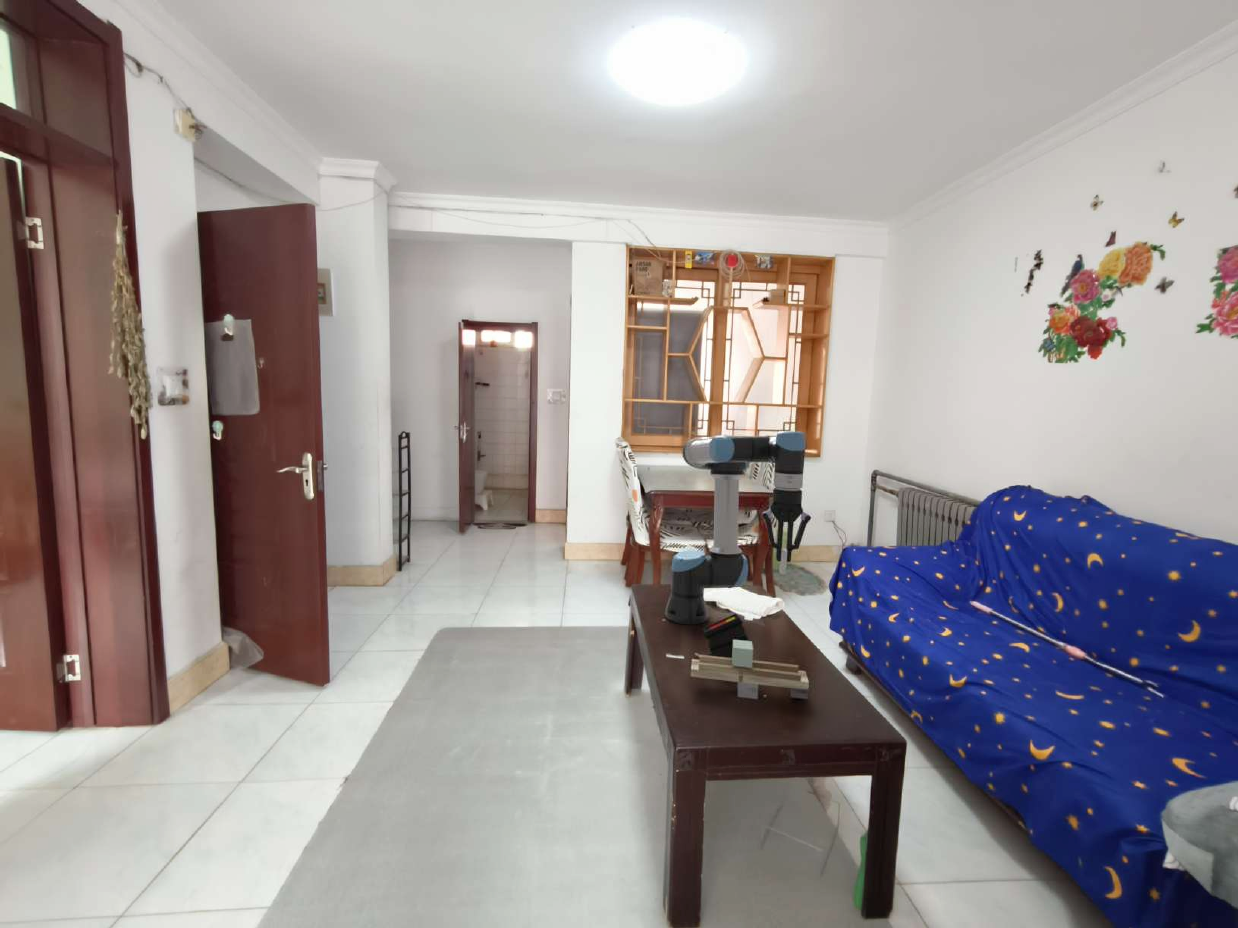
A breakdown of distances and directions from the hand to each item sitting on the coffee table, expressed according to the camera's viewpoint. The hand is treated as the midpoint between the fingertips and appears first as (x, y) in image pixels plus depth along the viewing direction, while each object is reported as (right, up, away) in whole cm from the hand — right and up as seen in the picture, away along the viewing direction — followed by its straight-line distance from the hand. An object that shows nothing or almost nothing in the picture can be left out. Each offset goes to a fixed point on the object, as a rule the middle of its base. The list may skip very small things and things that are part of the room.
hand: (782, 572), depth 149 cm
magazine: (-14, -29, +10) cm, 34 cm away
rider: (-12, -25, -5) cm, 28 cm away
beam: (-11, -31, -5) cm, 33 cm away
